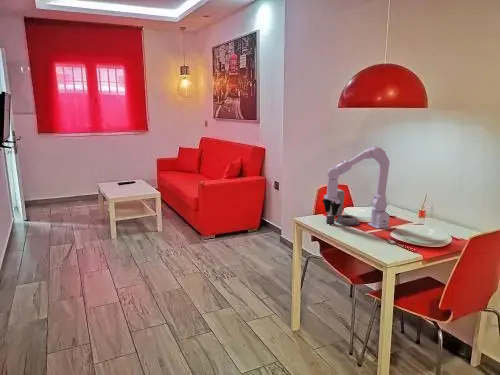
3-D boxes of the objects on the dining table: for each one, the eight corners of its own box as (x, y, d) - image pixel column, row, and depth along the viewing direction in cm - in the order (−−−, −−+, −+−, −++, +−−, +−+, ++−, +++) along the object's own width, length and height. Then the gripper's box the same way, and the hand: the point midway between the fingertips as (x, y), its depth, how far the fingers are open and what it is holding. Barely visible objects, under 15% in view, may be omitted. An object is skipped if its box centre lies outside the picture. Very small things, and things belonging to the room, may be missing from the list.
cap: (335, 224, 217) (336, 215, 216) (328, 225, 215) (329, 216, 214) (331, 222, 221) (332, 213, 220) (324, 223, 219) (325, 214, 218)
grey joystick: (359, 224, 217) (359, 218, 216) (343, 226, 214) (344, 219, 213) (349, 220, 226) (350, 214, 226) (334, 221, 223) (334, 215, 223)
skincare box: (326, 213, 241) (327, 188, 238) (335, 212, 244) (336, 187, 241) (334, 216, 233) (335, 191, 231) (343, 215, 236) (345, 190, 234)
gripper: (319, 187, 220) (318, 210, 223) (332, 192, 206) (330, 217, 209) (330, 187, 222) (329, 210, 225) (343, 192, 208) (342, 216, 211)
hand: (330, 213), depth 217 cm, fingers open, 7 cm apart
